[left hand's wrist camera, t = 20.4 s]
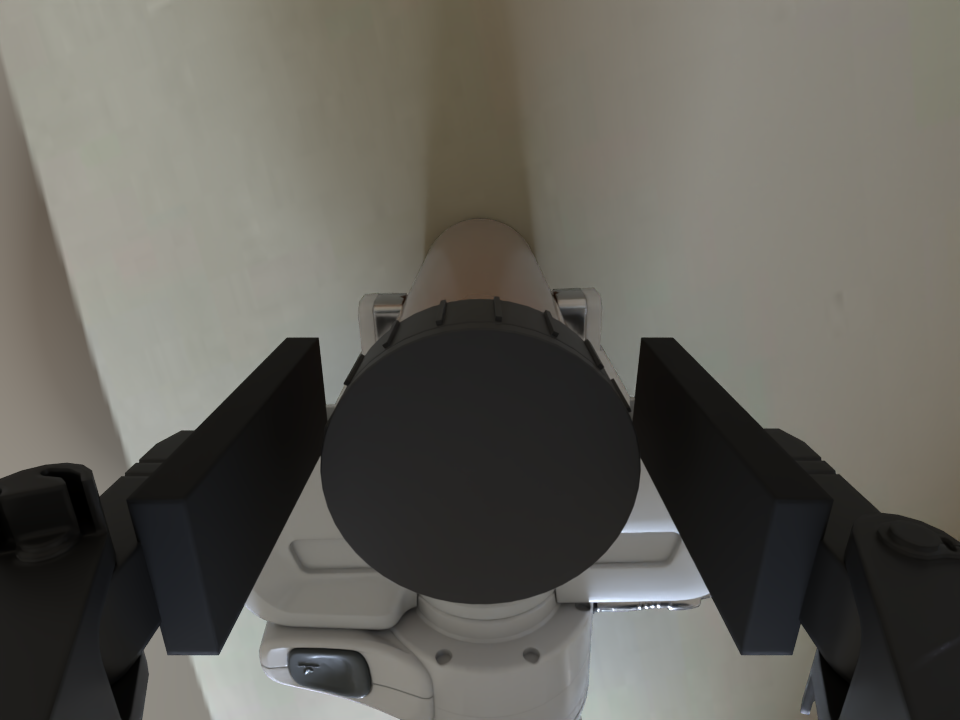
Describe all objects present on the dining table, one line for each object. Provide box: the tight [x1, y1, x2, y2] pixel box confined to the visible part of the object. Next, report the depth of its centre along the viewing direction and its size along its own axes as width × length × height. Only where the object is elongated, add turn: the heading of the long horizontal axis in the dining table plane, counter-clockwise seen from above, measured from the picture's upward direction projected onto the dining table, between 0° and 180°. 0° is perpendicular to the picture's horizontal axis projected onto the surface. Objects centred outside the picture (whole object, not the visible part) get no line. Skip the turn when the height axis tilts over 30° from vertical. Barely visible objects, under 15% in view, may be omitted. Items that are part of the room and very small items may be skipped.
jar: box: [396, 218, 568, 327], centre depth 18 cm, size 5×5×16 cm
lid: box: [320, 296, 641, 604], centre depth 11 cm, size 6×6×2 cm
